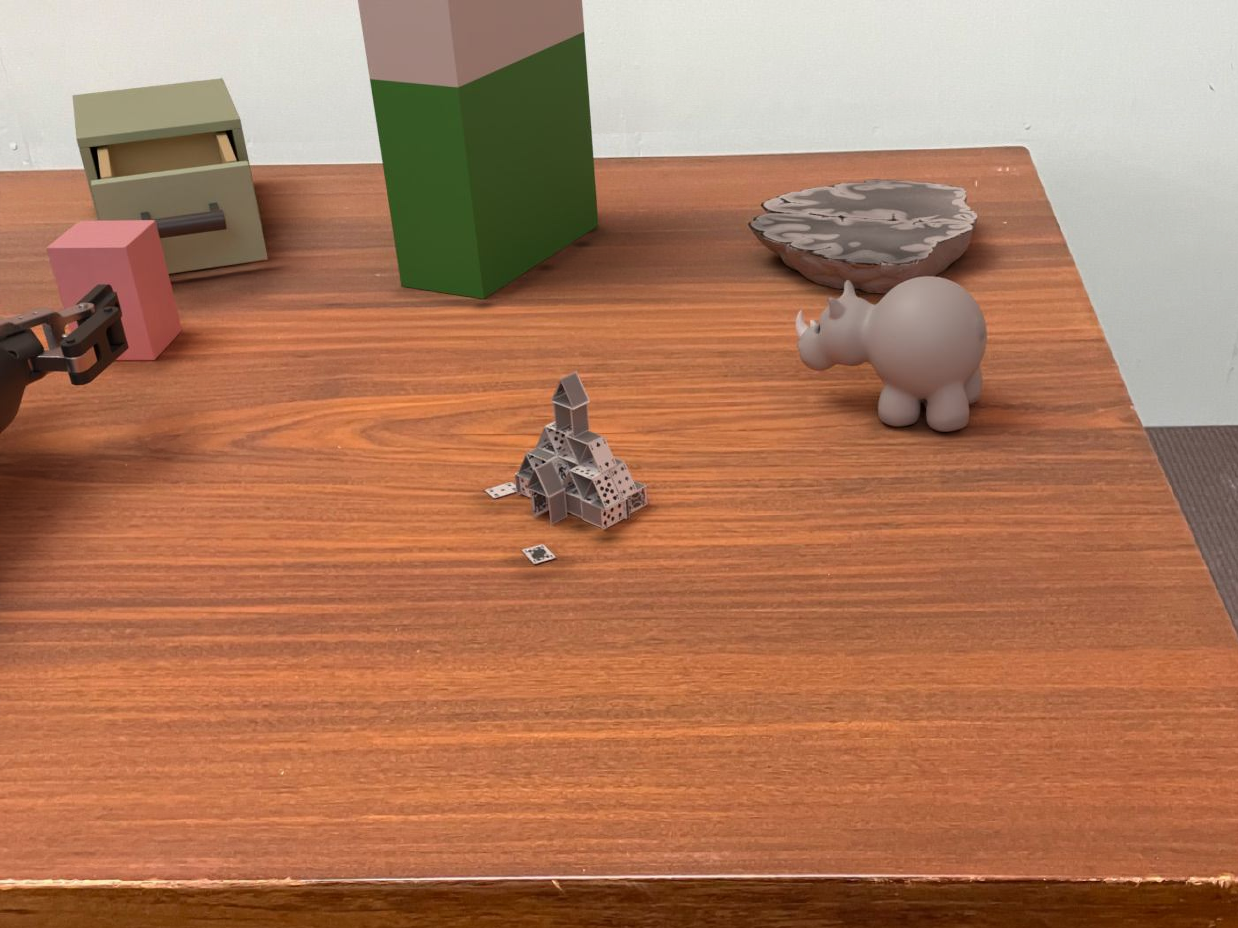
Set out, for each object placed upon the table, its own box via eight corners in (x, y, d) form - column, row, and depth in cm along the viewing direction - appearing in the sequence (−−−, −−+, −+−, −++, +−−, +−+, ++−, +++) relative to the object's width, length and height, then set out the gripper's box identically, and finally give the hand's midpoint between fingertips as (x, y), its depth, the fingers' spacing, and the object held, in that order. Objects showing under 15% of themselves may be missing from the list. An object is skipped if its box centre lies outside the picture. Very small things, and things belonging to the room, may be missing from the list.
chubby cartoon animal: (815, 373, 100) (817, 245, 95) (994, 398, 96) (1005, 266, 91) (776, 417, 95) (775, 285, 90) (964, 446, 91) (974, 309, 86)
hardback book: (521, 215, 129) (489, -103, 115) (598, 225, 126) (574, -100, 112) (401, 286, 116) (348, -63, 102) (483, 298, 113) (440, -58, 99)
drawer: (274, 276, 116) (255, 179, 112) (119, 299, 113) (92, 201, 109) (249, 209, 129) (230, 120, 125) (109, 228, 126) (86, 138, 122)
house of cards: (430, 516, 86) (411, 389, 81) (542, 461, 91) (530, 339, 87) (540, 567, 81) (526, 435, 76) (652, 506, 86) (645, 379, 82)
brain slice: (784, 210, 128) (784, 173, 126) (988, 222, 124) (991, 185, 122) (722, 293, 112) (721, 253, 111) (951, 310, 108) (954, 269, 107)
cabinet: (263, 230, 128) (240, 118, 122) (106, 252, 124) (76, 138, 119) (244, 182, 139) (222, 77, 134) (100, 201, 136) (72, 94, 130)
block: (78, 360, 106) (45, 247, 101) (108, 330, 110) (79, 220, 106) (154, 360, 106) (125, 246, 101) (182, 330, 110) (155, 219, 105)
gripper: (23, 342, 80) (139, 239, 93) (-234, 343, 81) (-84, 241, 94) (63, 471, 84) (168, 355, 97) (-181, 470, 85) (-45, 355, 99)
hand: (44, 299), depth 96 cm, fingers open, 8 cm apart
